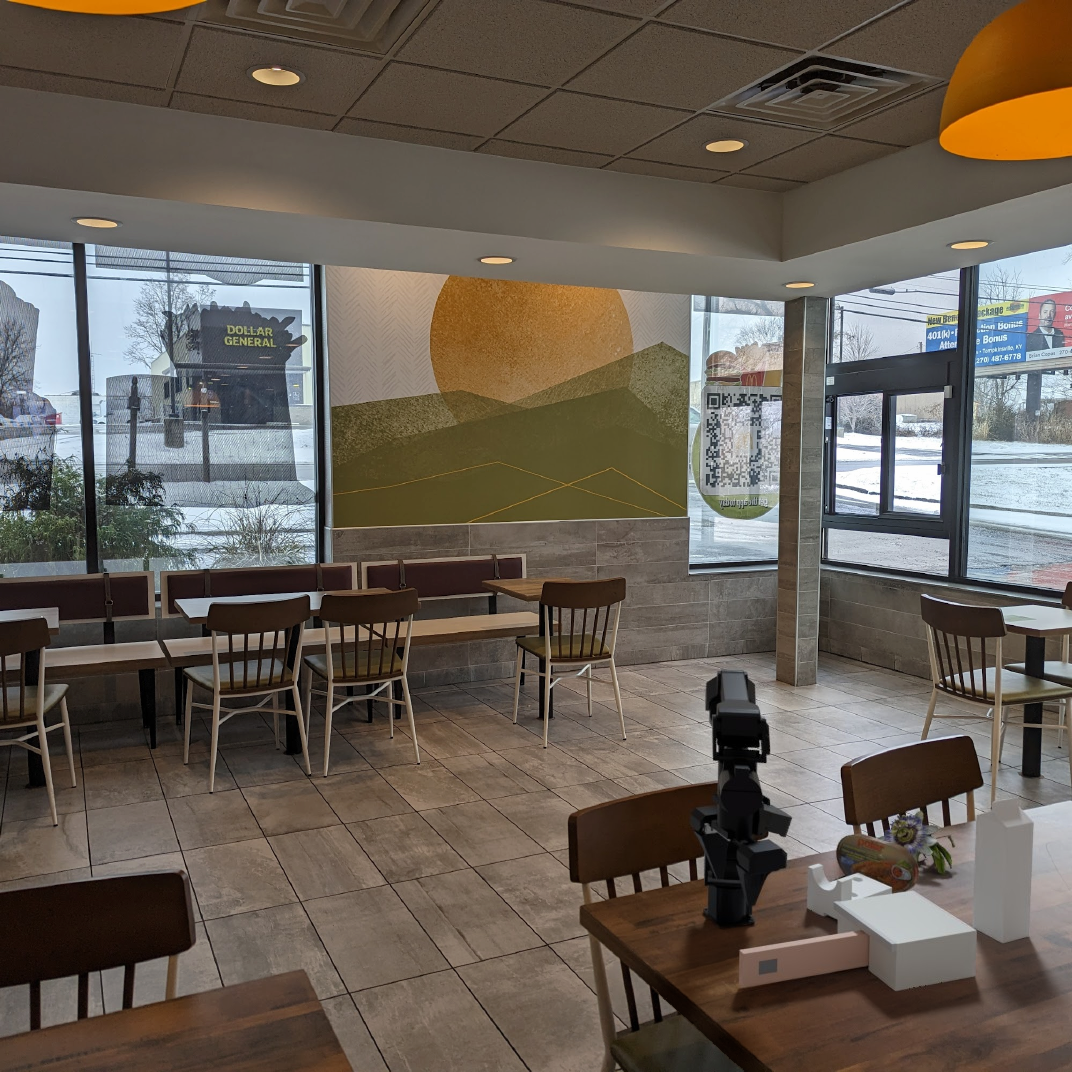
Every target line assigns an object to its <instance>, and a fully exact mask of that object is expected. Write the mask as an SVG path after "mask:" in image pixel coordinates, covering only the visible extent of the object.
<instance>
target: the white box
mask: <svg viewBox="0 0 1072 1072" xmlns="http://www.w3.org/2000/svg"><path fill="white" fill-rule="evenodd" d="M834 910H835V911H837V912H838V920H837V932H836V934H841V933H847V932H853V931H859V930H862V931H864V932H865V933H866V934H868V935H869V936H870V941H869V966H868V971H870V972H871V973H872V974H873V975H874V976H876V977H877V978H878V979H879V980H880V981H882V982H883V983H884V984H885V985H887V986H888V987H889V988H891V989H892V990H893V991H894V992H899V991H904V990H909V988H910V989H914V988H913V987H915V988H920V987H919V986H921V987H925V985H926V986H931V985H935V984H940V983H941V982H942V983H946V982H947V983H948V982H953V981H957V980H961V979H962V980H963V979H969V978H974V977H976V966H977V965H976V964H977V962H976V961H977V960H976V959H977V937H978V936H977V935H978V934H977V933H978V930H977V929H975V928H973V927H972V926H970V925H969V924H968V923H965V922H964V921H963V920H961V919H959V918H958V917H956V916H955V915H953V914H951V913H950V912H948V911H946V910H945V909H943V908H942V907H940V906H938V905H937V904H935V903H934V902H932V901H931V900H929V899H928V898H926V897H924V896H923V895H921V894H919V893H918V892H916V891H915V890H908V891H906V892H900V893H893V894H887V895H880V896H874V897H867V898H860V899H854V900H847V901H841V902H839V901H836V902H834ZM942 983H941V984H942Z"/></svg>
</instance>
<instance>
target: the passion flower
mask: <svg viewBox="0 0 1072 1072" xmlns="http://www.w3.org/2000/svg"><path fill="white" fill-rule="evenodd" d="M896 817H897V819H896V818H895V819H894V821H891V823H889V826H891V827H890V829H887V830H885V831H884V834H883V835H881V836H879V837H877V839H880V840H884V841H887V842H890V843H894V844H897V845H900V846H902V847H904V848H906V849H907V850H908V851H909V852H910V853H911V854H912V855H913V857H914V858H915V860H916V862H917V865H918V863H919V858H920V855H923V857H924V858H927V857H932V861H933V862H934V865H935V868H936V870H937V872H938V873H939V874H941V875H942V874H944V875H945V874H946V862H947V864H948V866H949V869H950V870H952V868H953V866H952V863H953V860H952V856H951V854H950V852H949V851H948V850H947V849H946V848H945V847H944V846H942V845H941V844H940V843H939V842H938V840H937V839H941V838H946V837H947V839H949V841H950V843H951V848H955V847H956V844H955V841H954V839H953V838H952V835H951V834H948V835H942V836H938V837H933V836H932V835H933V834H935V833H937V832H938V831H939V829H940V826H939V825H938V824H929V825H928V824H923V820H924V813H923V811H922V810H919V811H917V812H916V813H915V814H914V815H912V814H910V815H905V814H903V815H901V816H900V815H896Z"/></svg>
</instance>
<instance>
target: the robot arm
mask: <svg viewBox="0 0 1072 1072" xmlns="http://www.w3.org/2000/svg"><path fill="white" fill-rule="evenodd" d="M704 694H705V695H704V696H705V697H704V699H705V701H704V702H705V704H704V705H705V706H704V709H705V712H708V722H709V724H710V726H711V739H712V740H711V743H712V745H711V746H712V747H711V749H712V761H713V762H714V761H715V762H717V793H712V794H711V801H712V802H713V803H714V805H705V806H700V807H699V806H698V807H695V808H694V809H693V810H692V811H691V812H690V814H689V825H690V827H692V828H693V829H694V830H693V832H694V835H695V836H696V838H697V839H698V841H699V844H700V846H701V847H702V850H703V852H704V855H703V857H704V858H703V881H704V882H703V885H704V887H707V907H706V908H703V909H702V911H703V914H704V915H705V916H707V917H708V918H709V919H710V920H711V921H712V922H713V923H714V924H715V925H716V926H717V928H719V929H728V928H734V927H741V926H747V925H754V924H755V923H756V919H755V918H753V917H752V915H753V907H754V906H756V904H757V901H758V900H759V897H760V894H761V892H762V889H763V886H764V884H765V882H766V880H767V878H768V876H769V875H770V874H771V873H773V872H778V871H780V870H782V869H786V868H787V866H788V852H786V850H784V849H783V847H781V846H780V845H778V844H776V843H775V842H774V841H772V840H771V839H769V838H768V839H763V840H756V839H754V837H755V836H757V837H762V836H766V832H768V833H772V834H775V835H778V836H780V837H782V838H786V837H787V836H788V832H789V829H790V826H791V824H792V820H793V816H792V815H790V814H788V813H787V812H785V811H783V810H782V809H780V808H778V807H776V806H775V805H773V804H771V800H770V798H769V797H768V796H766V795H765V794H764V793H763V790H762V785H761V782H760V777H759V775H758V764H767V761H768V760H767V759H768V757H767V756H770V755H771V738H770V725H769V723H768V722H767V718H766V717H765V716H761V709H760V707H759V705H758V704H757V703H756V702H757V701H756V700H757V699H756V684H755V683H754V681H752V680H750V679H749V675H748V671H745V670H744V669H727V668H726V669H724V668H722V669H721V670H717V672H716V676H715V677H713V678H711V679H710V680H708V681H707V682H706V683H705V693H704ZM751 748H752V749H751ZM759 749H760V750H759ZM760 751H761V752H760Z"/></svg>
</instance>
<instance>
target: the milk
mask: <svg viewBox="0 0 1072 1072" xmlns="http://www.w3.org/2000/svg"><path fill="white" fill-rule="evenodd" d="M1019 804H1020V799H1019V797H1018V796H1016V797H1010V798H1006V799H1000V800H995V801H992V803H991V810H990V811H987V812H982V813H980V814H977V815H976V818H975V819H976V820H975V845H974V846H975V847H974V850H975V851H974V875H973V897H972V898H973V900H972V926H971V927H972V928H974V929H975V930H977V932H978V931H979V932H980V933H982V934H984V935H986V936H988V937H990V938H991V939H994V940H995V941H998V942H999V943H1001V944H1006V943H1010V942H1014V941H1017V940H1021V939H1024V938H1028V937H1030V925H1031V921H1030V919H1031V896H1032V876H1033V875H1032V871H1033V854H1034V853H1033V847H1034V821H1033V820H1032V819H1031V818H1030V817H1029V815H1028V814H1027V813H1026V812H1025V811H1024V810H1023V809H1022V808H1021V807H1020V806H1019Z"/></svg>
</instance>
